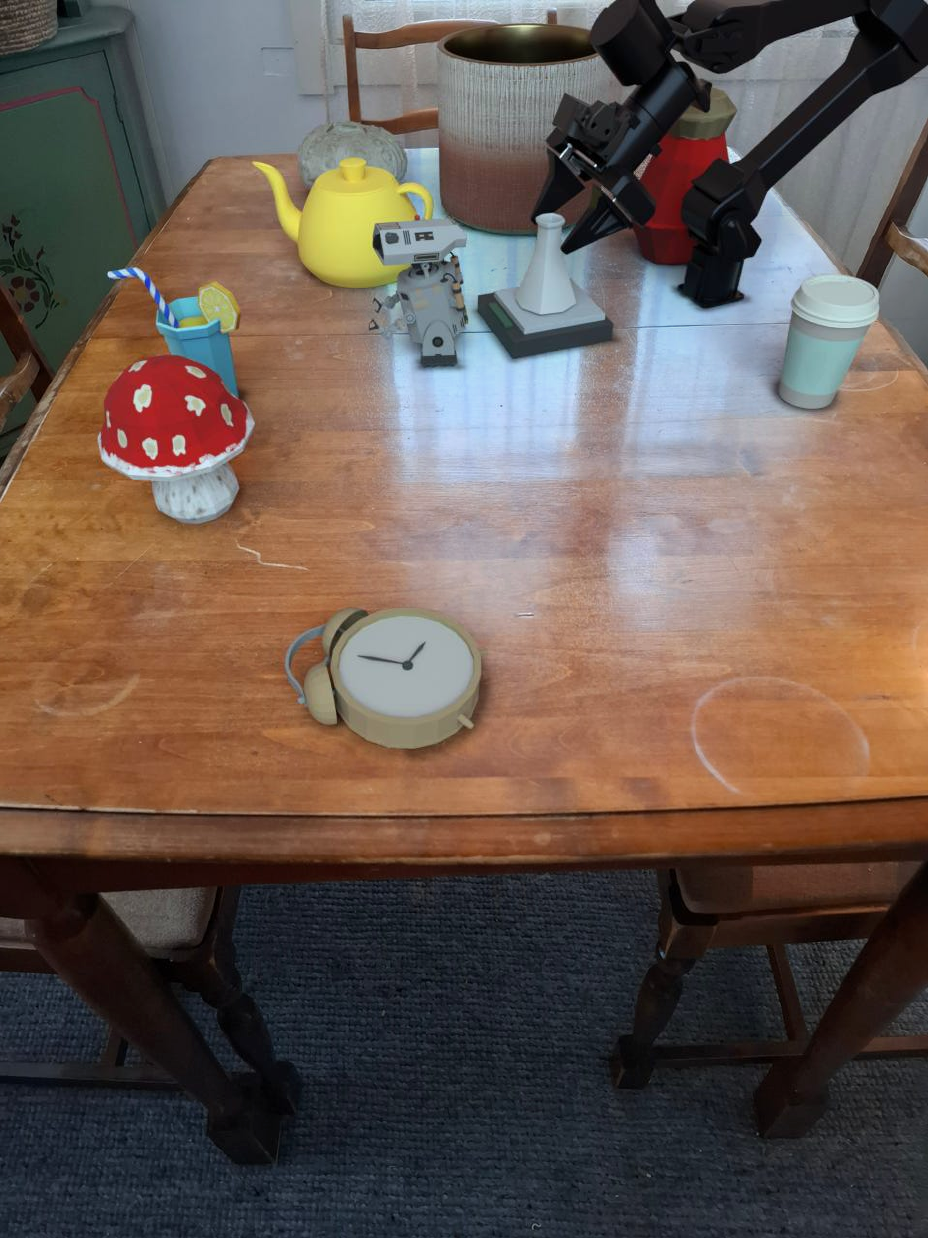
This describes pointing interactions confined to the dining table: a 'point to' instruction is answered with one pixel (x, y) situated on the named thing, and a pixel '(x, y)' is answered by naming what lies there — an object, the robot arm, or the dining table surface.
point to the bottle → (681, 178)
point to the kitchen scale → (543, 323)
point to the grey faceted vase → (547, 271)
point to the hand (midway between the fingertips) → (547, 236)
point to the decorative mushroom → (176, 435)
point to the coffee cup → (825, 336)
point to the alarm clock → (393, 675)
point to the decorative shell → (349, 150)
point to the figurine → (425, 284)
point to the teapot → (346, 221)
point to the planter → (509, 118)
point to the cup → (197, 325)
